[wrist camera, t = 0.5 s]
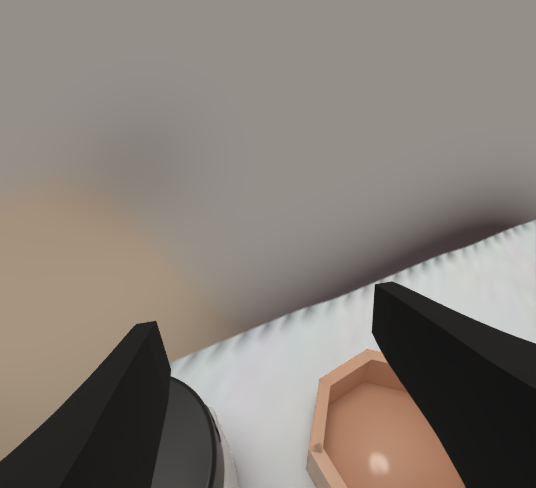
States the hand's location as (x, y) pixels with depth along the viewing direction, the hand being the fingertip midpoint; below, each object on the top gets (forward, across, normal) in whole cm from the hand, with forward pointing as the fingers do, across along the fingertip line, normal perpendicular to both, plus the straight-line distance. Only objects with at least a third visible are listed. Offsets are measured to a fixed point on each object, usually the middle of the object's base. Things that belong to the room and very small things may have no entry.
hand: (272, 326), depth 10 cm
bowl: (+5, -8, +17) cm, 19 cm away
